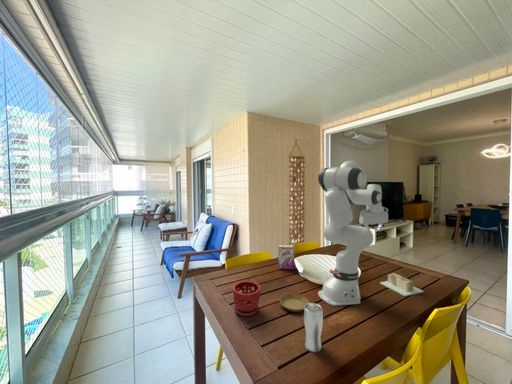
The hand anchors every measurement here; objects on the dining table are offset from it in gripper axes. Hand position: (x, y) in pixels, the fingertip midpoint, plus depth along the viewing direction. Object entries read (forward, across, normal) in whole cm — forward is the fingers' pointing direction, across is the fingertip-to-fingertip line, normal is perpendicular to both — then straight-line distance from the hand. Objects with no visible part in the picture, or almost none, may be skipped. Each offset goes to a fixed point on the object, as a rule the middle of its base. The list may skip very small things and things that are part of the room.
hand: (373, 230), depth 140 cm
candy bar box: (+31, -48, +31) cm, 65 cm away
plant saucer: (+31, -64, -14) cm, 73 cm away
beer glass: (+31, -70, -41) cm, 87 cm away
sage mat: (+31, +4, -16) cm, 35 cm away
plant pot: (+31, -88, -11) cm, 94 cm away
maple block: (+28, +4, -10) cm, 30 cm away
